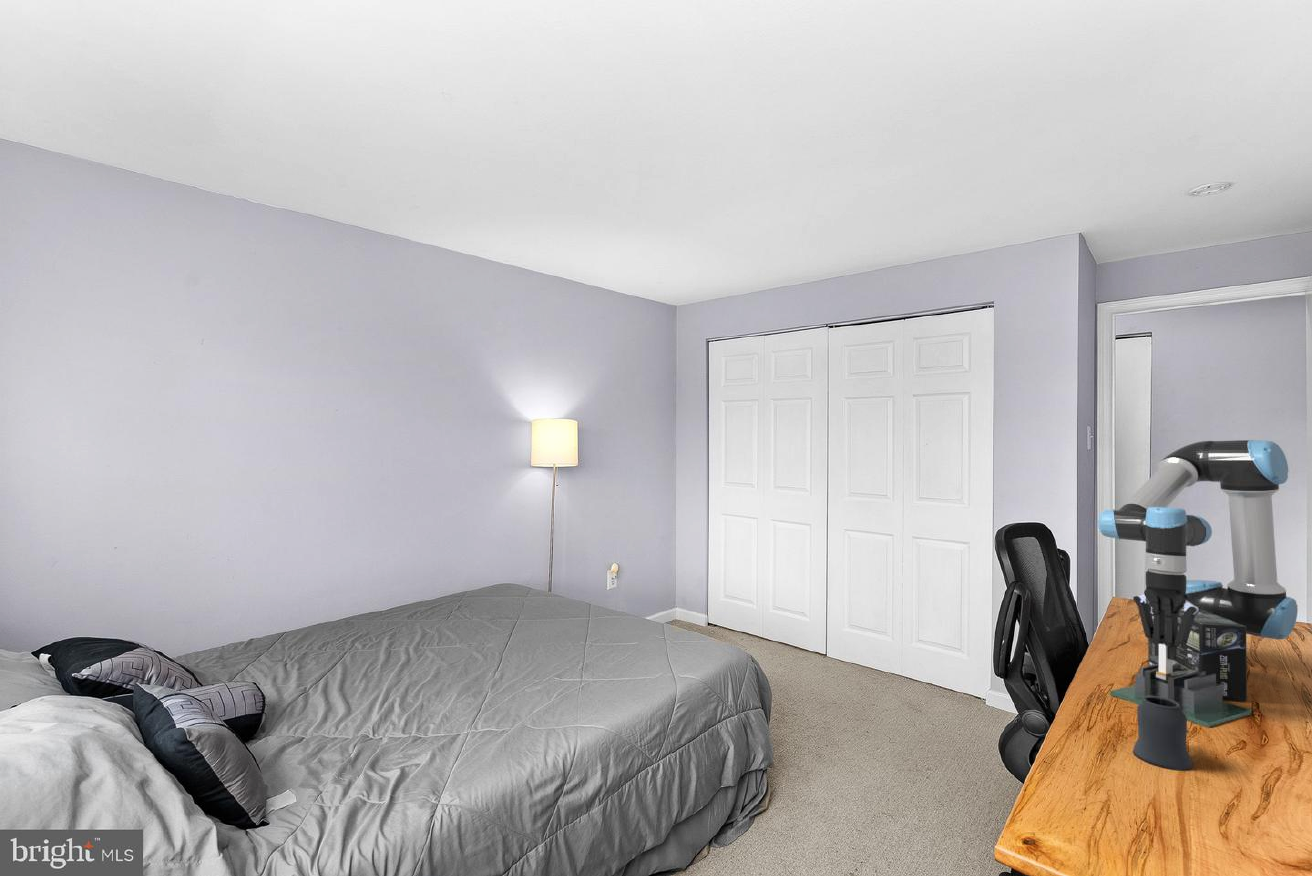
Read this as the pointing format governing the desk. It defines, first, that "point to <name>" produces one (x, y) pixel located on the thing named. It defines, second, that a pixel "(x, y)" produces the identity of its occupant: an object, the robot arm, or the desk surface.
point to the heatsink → (1185, 695)
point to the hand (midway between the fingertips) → (1165, 671)
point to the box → (1213, 652)
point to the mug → (1162, 734)
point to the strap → (1173, 674)
